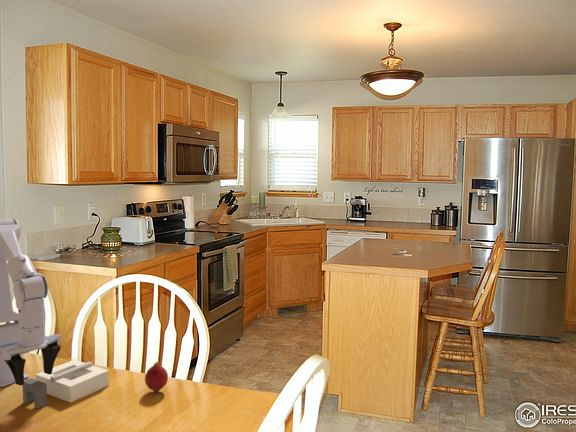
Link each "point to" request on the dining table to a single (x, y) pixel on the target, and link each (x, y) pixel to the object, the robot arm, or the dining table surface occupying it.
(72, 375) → the shallow white tray
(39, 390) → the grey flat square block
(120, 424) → the dining table surface
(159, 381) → the onion
